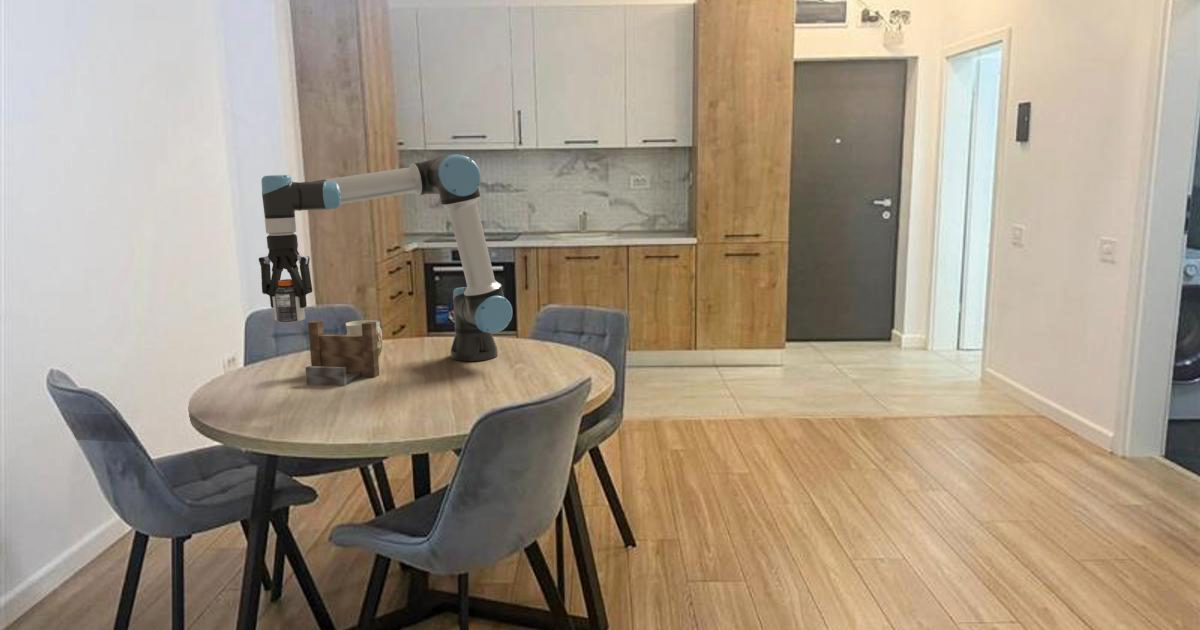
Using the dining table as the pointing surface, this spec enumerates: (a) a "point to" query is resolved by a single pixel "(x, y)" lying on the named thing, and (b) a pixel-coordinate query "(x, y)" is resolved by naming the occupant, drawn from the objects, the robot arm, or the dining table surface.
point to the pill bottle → (286, 301)
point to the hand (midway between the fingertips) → (290, 319)
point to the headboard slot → (342, 355)
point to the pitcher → (356, 329)
